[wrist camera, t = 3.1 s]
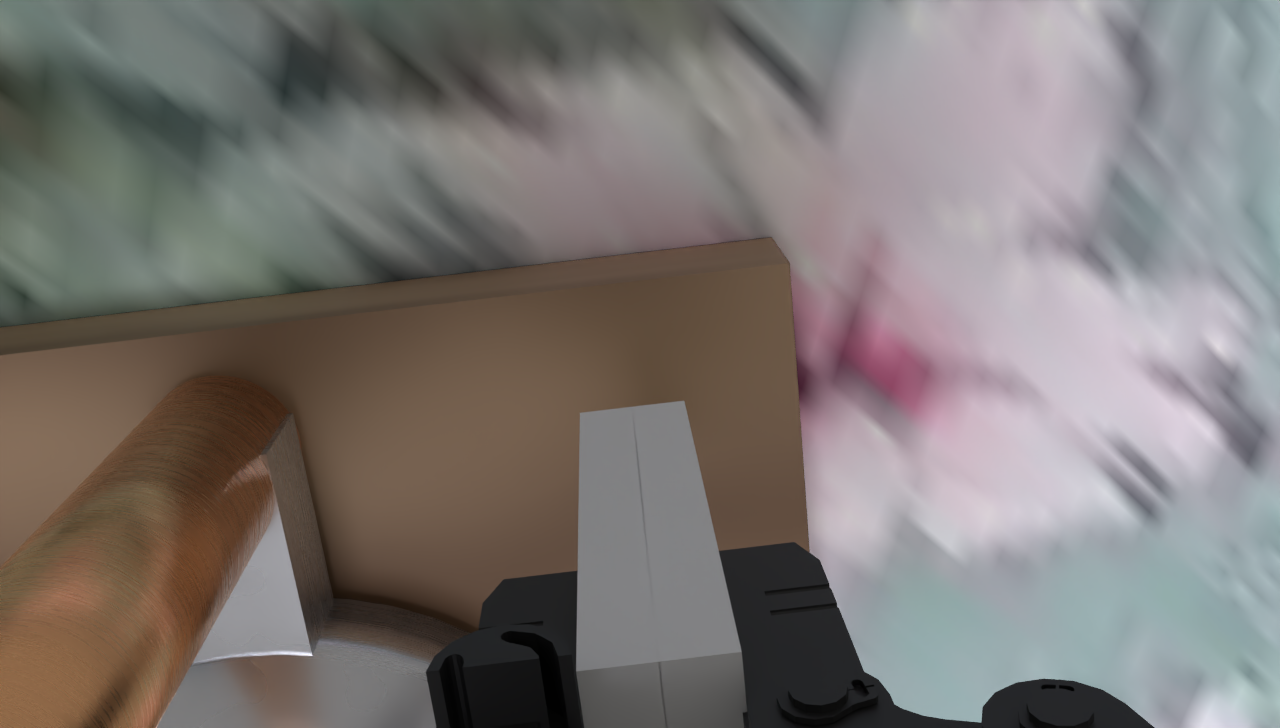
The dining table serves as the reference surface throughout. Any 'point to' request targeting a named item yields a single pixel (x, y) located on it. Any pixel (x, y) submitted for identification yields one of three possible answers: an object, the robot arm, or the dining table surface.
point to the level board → (444, 406)
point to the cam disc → (201, 590)
